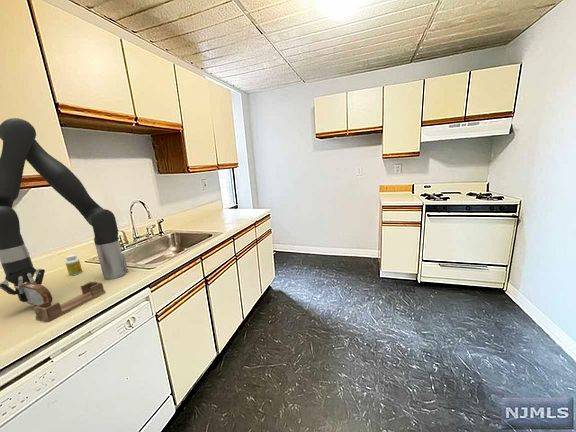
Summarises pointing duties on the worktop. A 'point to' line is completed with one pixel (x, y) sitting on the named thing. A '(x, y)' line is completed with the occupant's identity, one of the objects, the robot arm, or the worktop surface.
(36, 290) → the tin
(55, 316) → the rack
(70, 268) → the supplement bottle
